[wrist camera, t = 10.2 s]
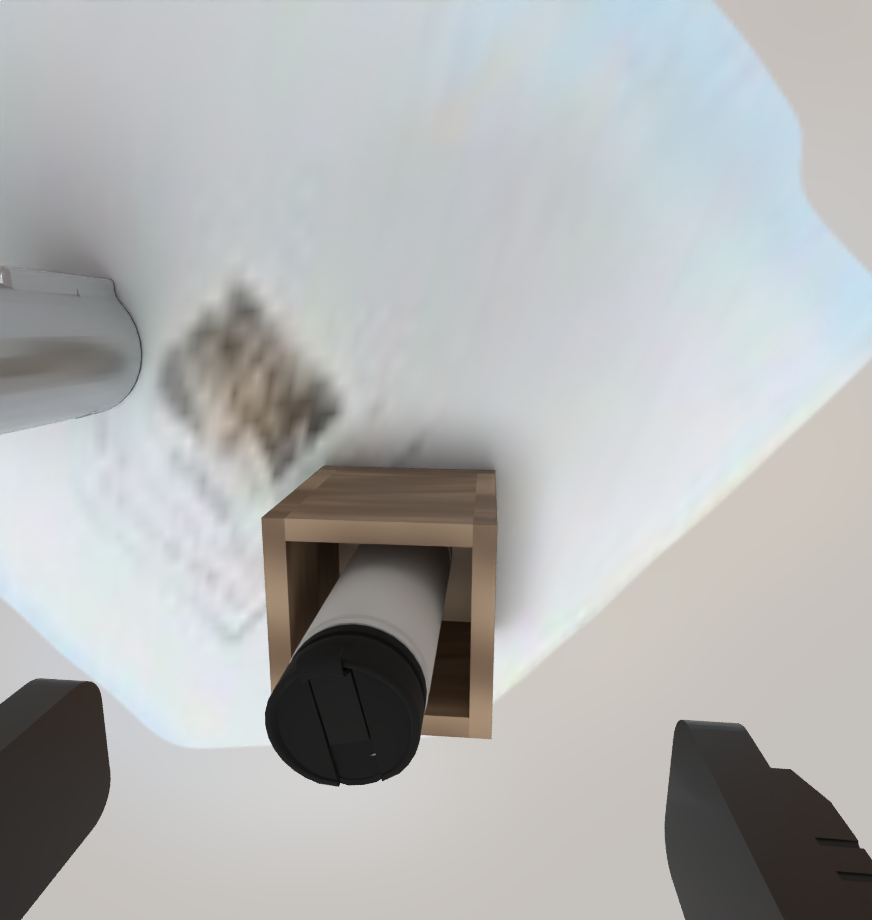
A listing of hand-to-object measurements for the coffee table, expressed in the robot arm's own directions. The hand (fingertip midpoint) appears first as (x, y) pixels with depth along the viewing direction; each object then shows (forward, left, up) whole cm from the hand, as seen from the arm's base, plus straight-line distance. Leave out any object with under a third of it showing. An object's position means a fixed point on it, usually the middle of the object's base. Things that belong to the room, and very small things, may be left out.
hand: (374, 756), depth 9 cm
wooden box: (+10, -4, -34) cm, 36 cm away
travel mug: (+9, -4, -33) cm, 35 cm away
